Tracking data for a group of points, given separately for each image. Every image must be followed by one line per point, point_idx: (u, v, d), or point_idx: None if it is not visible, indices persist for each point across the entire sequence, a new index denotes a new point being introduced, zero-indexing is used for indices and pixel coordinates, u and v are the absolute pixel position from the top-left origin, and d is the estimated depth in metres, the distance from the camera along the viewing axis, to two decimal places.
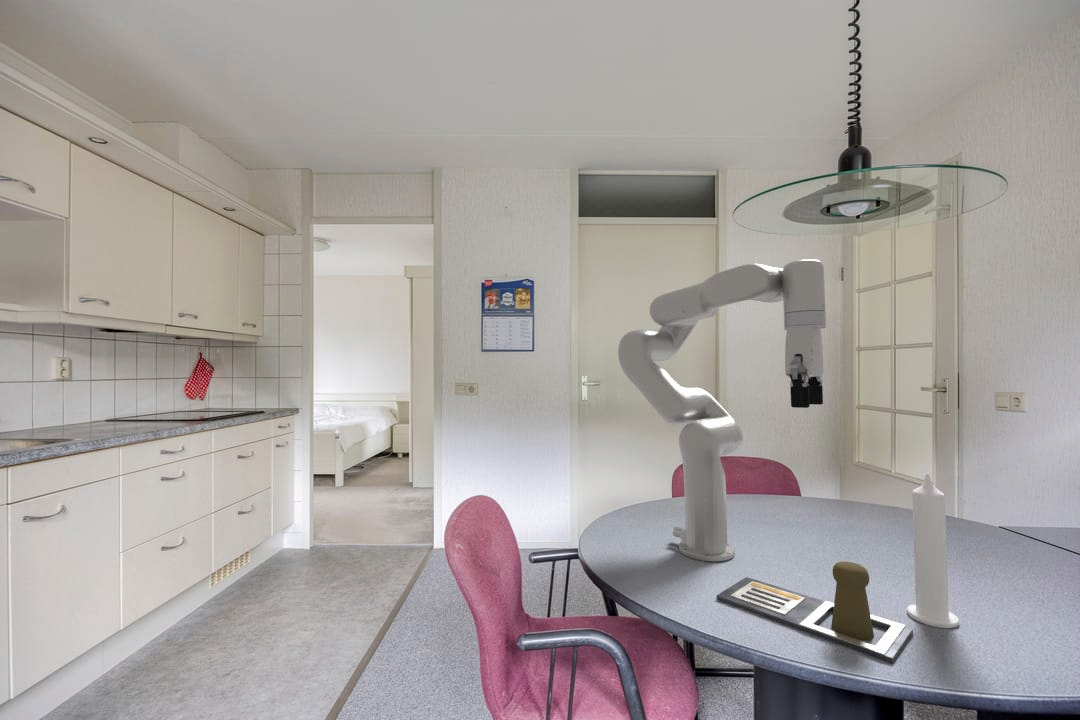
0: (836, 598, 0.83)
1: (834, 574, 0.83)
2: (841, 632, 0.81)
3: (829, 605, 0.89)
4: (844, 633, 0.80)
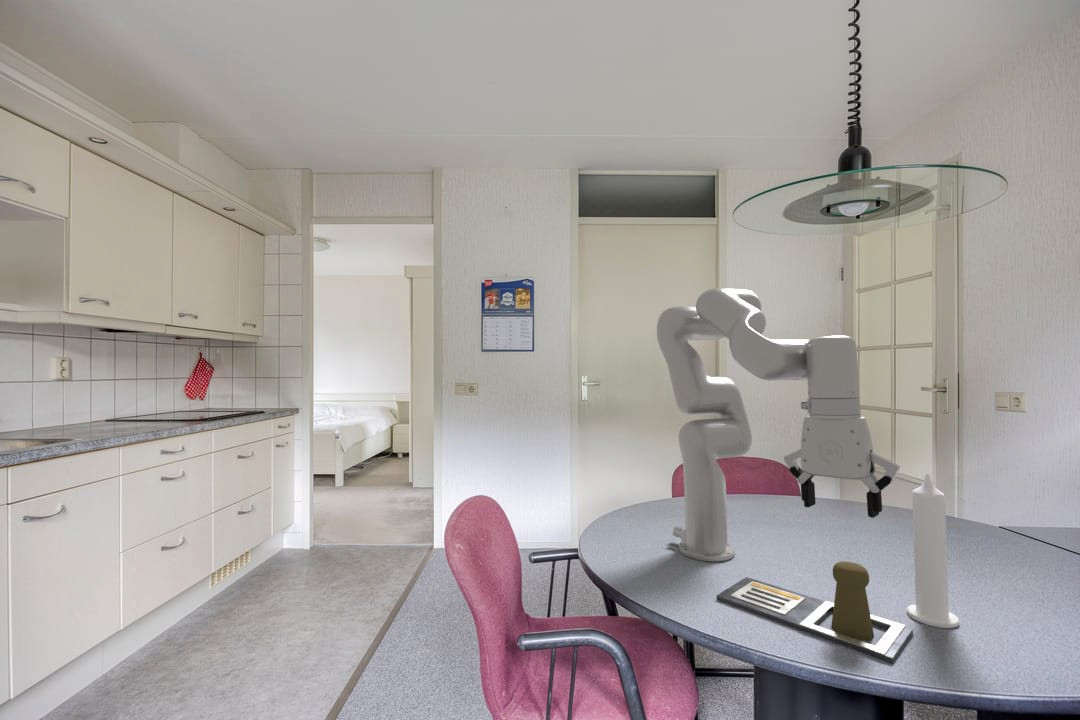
0: (836, 598, 0.83)
1: (834, 574, 0.83)
2: (841, 632, 0.81)
3: (829, 605, 0.89)
4: (844, 633, 0.80)
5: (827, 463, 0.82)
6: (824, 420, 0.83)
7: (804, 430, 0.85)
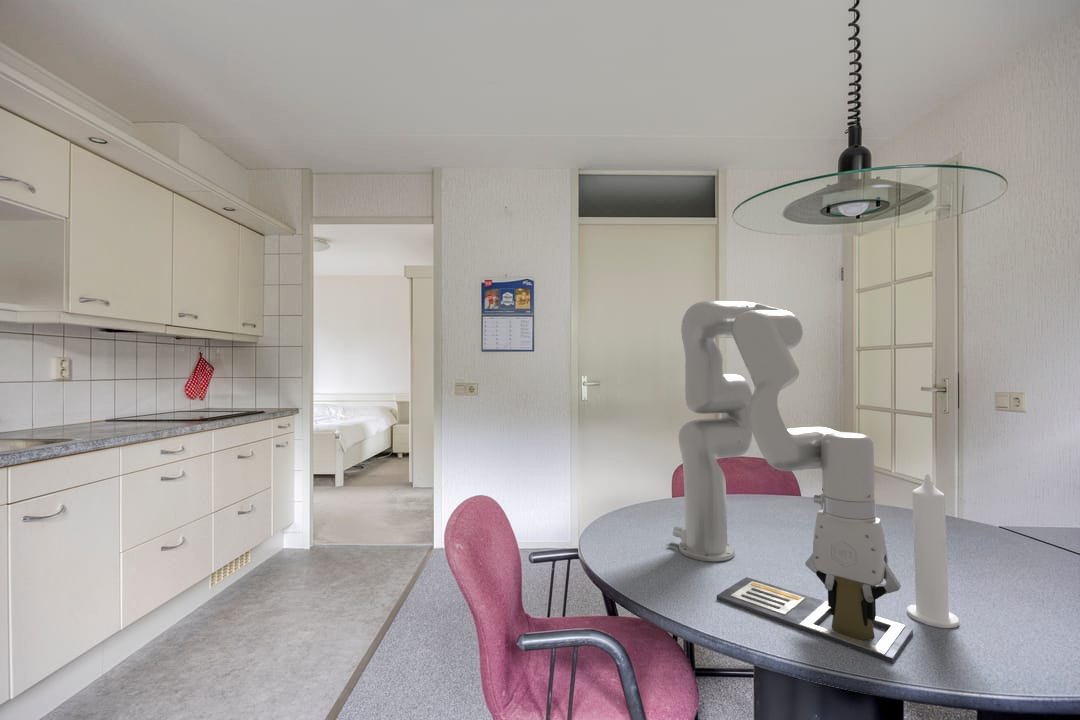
0: (836, 598, 0.83)
1: None
2: (842, 632, 0.81)
3: None
4: (844, 633, 0.80)
5: (840, 565, 0.81)
6: (838, 521, 0.81)
7: (817, 527, 0.84)
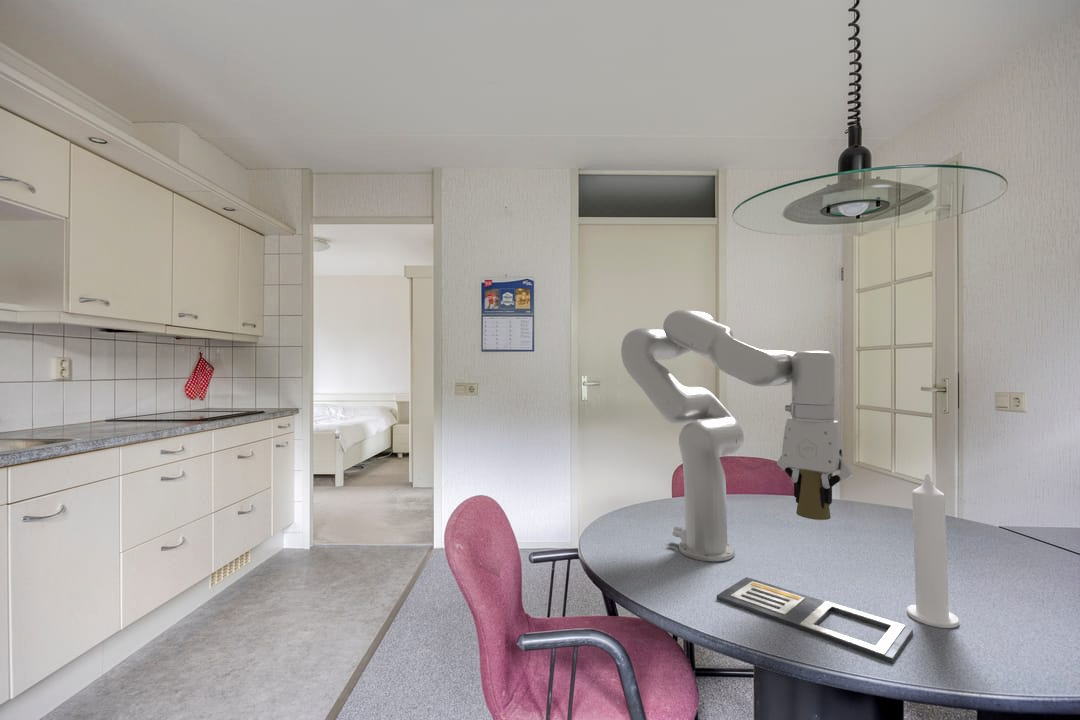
0: (800, 488, 0.99)
1: None
2: (803, 514, 0.97)
3: (829, 605, 0.89)
4: (805, 515, 0.97)
5: (803, 459, 0.97)
6: (803, 422, 0.97)
7: (786, 429, 1.00)
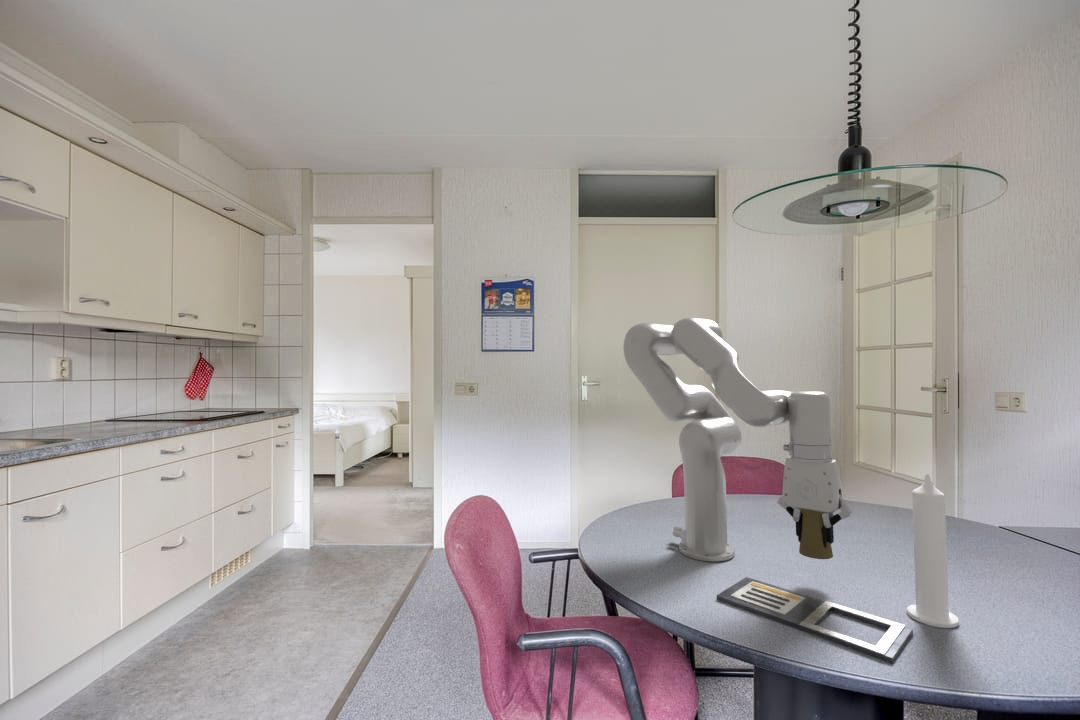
0: (802, 527, 1.00)
1: None
2: (806, 554, 0.98)
3: (829, 605, 0.89)
4: (808, 554, 0.98)
5: (804, 498, 0.99)
6: (802, 462, 0.99)
7: (786, 469, 1.02)
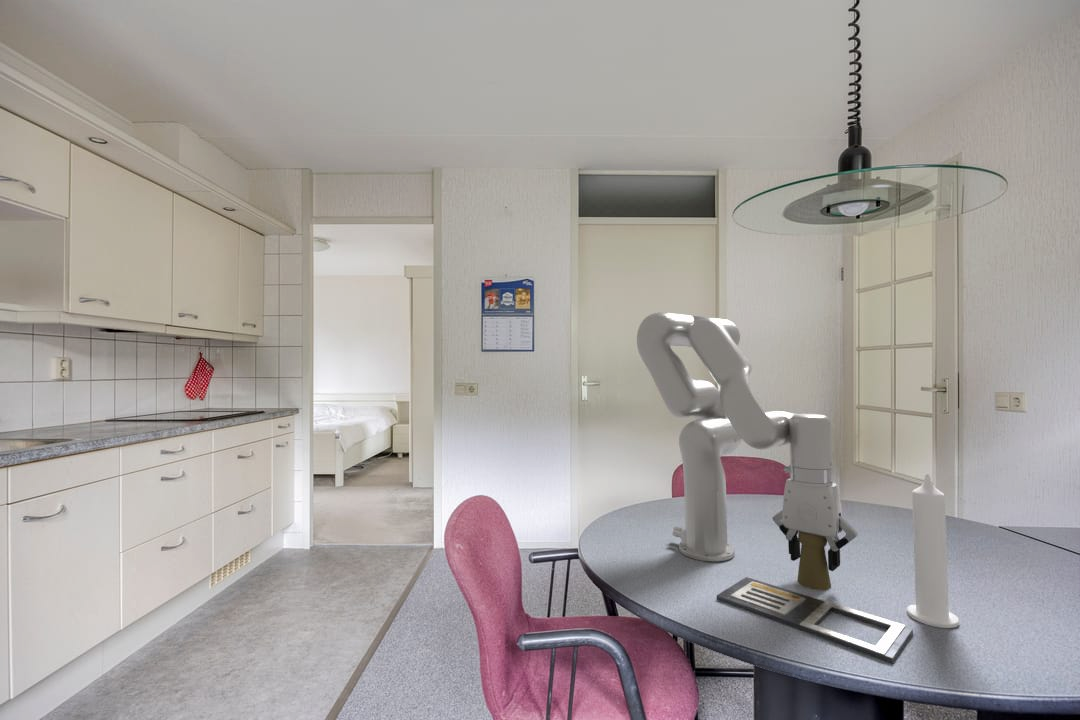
0: (801, 557, 1.01)
1: (799, 537, 1.01)
2: (804, 584, 0.99)
3: (829, 605, 0.89)
4: (806, 584, 0.98)
5: (804, 522, 0.99)
6: (802, 486, 0.99)
7: (786, 491, 1.02)
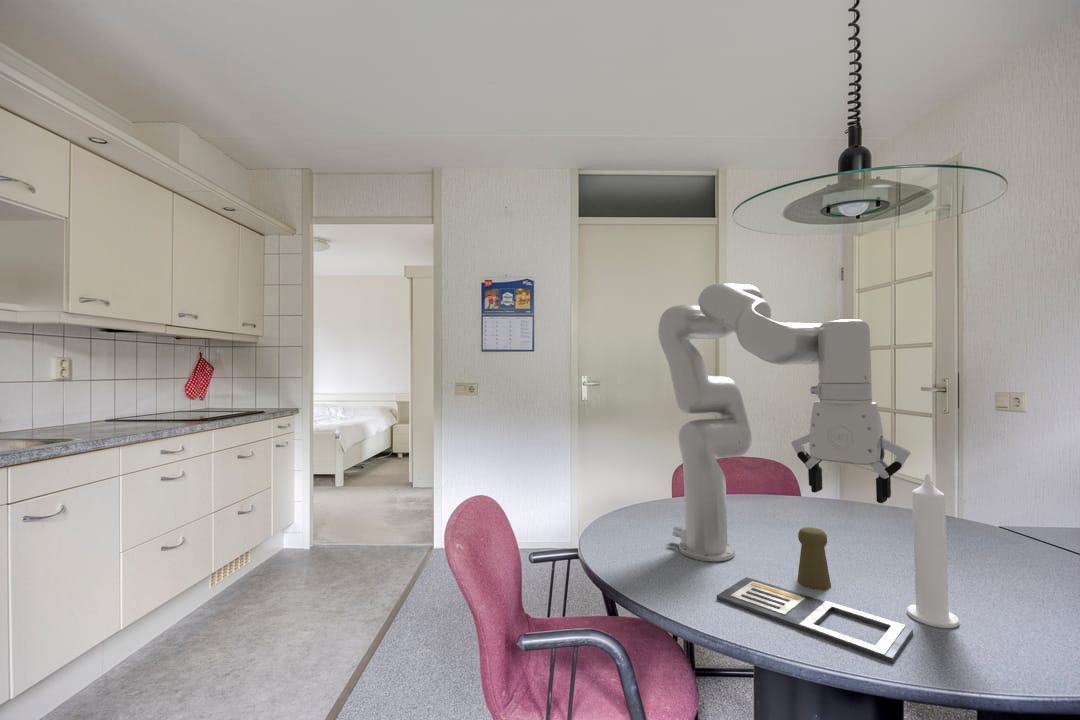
0: (801, 557, 1.01)
1: (799, 537, 1.01)
2: (804, 584, 0.99)
3: (829, 605, 0.89)
4: (806, 584, 0.98)
5: (836, 449, 0.81)
6: (835, 405, 0.82)
7: (814, 415, 0.84)
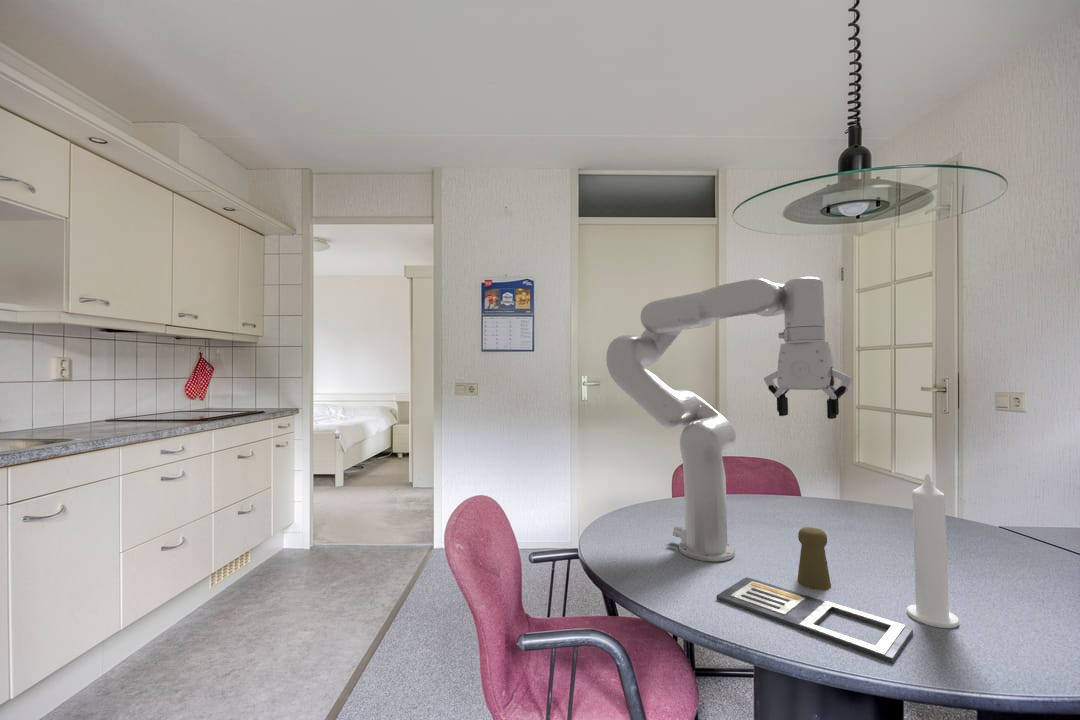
0: (801, 557, 1.01)
1: (799, 537, 1.01)
2: (804, 584, 0.99)
3: (829, 605, 0.89)
4: (806, 584, 0.98)
5: (797, 379, 1.03)
6: (796, 345, 1.04)
7: (780, 354, 1.06)
